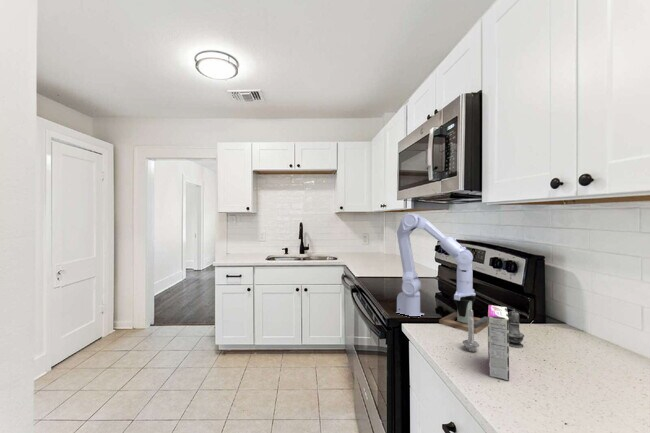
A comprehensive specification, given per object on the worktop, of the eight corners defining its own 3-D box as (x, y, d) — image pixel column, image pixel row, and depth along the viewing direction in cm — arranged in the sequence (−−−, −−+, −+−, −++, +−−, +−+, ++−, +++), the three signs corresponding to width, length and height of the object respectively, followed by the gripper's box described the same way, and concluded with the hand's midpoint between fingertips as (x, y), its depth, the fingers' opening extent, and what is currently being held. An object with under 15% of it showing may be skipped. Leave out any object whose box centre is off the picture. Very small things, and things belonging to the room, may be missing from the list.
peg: (457, 320, 117) (457, 300, 117) (461, 318, 120) (461, 298, 120) (467, 323, 114) (467, 303, 114) (471, 321, 117) (471, 301, 117)
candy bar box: (487, 359, 88) (488, 304, 88) (507, 363, 86) (507, 306, 86) (487, 376, 79) (487, 315, 79) (509, 382, 76) (509, 318, 76)
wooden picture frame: (439, 323, 118) (439, 319, 118) (454, 315, 127) (454, 312, 127) (476, 333, 107) (476, 329, 107) (489, 324, 117) (490, 320, 117)
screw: (460, 346, 97) (476, 347, 96) (464, 352, 92) (481, 354, 92) (460, 306, 97) (476, 307, 96) (464, 311, 92) (481, 312, 92)
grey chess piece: (528, 348, 96) (528, 311, 96) (510, 348, 96) (510, 311, 96) (517, 340, 101) (517, 305, 101) (499, 340, 102) (500, 305, 102)
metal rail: (472, 327, 109) (472, 323, 109) (484, 320, 117) (484, 316, 117) (476, 328, 108) (476, 324, 108) (487, 320, 116) (487, 317, 116)
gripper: (467, 285, 109) (467, 321, 109) (482, 279, 119) (482, 313, 119) (448, 282, 115) (448, 317, 115) (464, 277, 124) (464, 309, 124)
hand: (464, 314), depth 117 cm, fingers closed on peg, 4 cm apart
